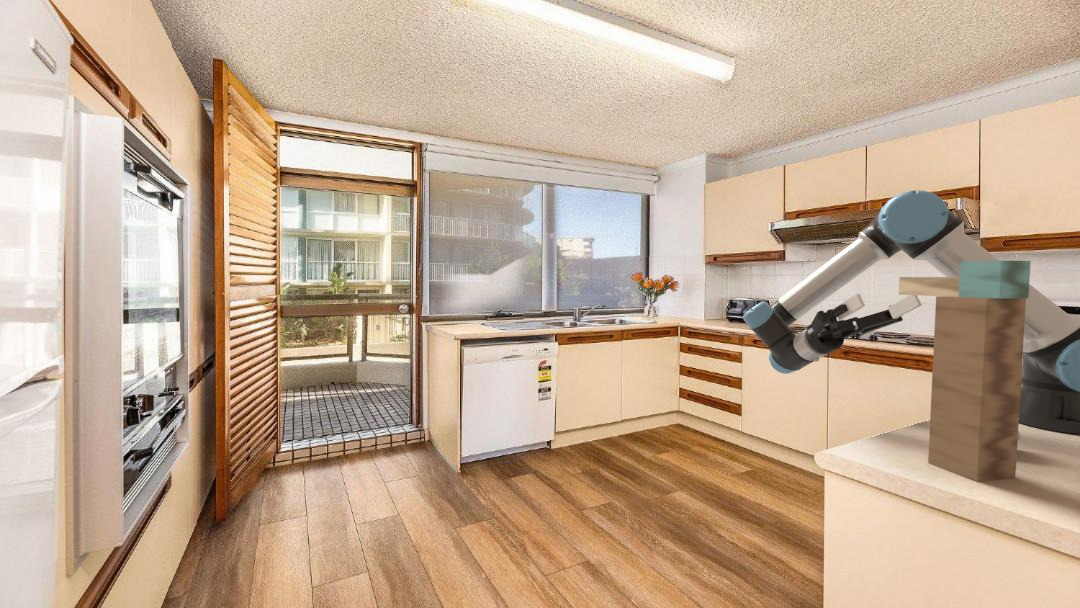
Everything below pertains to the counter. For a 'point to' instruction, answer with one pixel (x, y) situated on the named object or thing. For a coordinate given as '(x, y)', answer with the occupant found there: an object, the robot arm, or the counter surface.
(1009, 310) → the stand
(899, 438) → the counter surface
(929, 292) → the mallet
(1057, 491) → the counter surface
